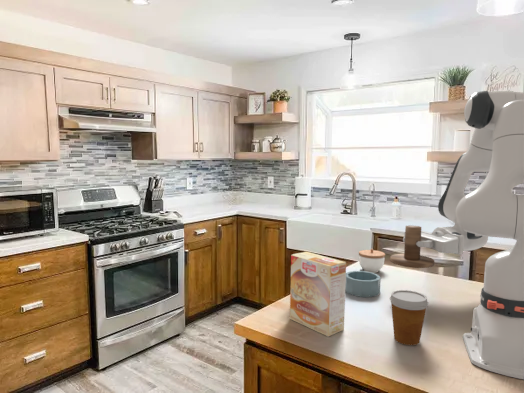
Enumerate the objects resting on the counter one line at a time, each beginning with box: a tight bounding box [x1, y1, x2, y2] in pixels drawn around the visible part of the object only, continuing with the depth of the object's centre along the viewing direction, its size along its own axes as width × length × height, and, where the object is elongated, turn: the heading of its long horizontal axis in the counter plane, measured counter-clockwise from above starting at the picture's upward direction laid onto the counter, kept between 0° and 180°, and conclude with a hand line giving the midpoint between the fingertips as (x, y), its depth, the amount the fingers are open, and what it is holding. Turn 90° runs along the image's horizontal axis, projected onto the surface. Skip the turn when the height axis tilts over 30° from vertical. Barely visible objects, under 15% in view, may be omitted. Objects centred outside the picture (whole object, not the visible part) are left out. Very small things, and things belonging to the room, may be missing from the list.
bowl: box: [345, 270, 382, 298], centre depth 138 cm, size 12×12×6 cm
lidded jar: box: [358, 248, 386, 274], centre depth 163 cm, size 11×11×9 cm
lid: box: [389, 224, 435, 269], centre depth 130 cm, size 14×14×12 cm
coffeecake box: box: [289, 251, 347, 337], centre depth 109 cm, size 15×7×20 cm, turn 40°
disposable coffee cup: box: [389, 289, 429, 346], centre depth 101 cm, size 10×10×12 cm
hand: (410, 241), depth 130 cm, fingers closed on lid, 5 cm apart
